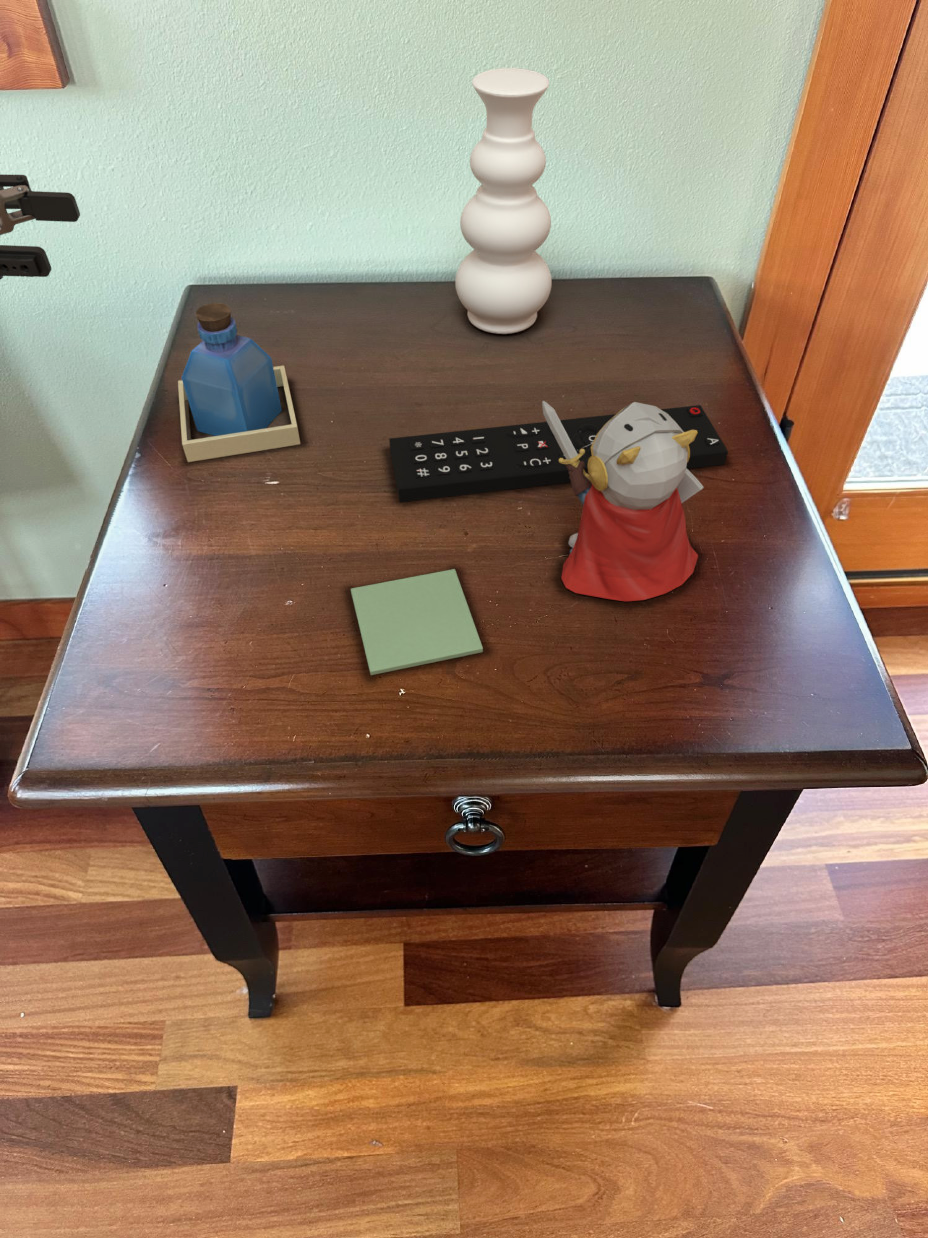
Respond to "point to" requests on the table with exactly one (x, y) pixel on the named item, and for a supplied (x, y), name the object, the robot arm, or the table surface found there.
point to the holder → (241, 440)
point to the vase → (506, 208)
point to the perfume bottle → (229, 377)
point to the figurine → (630, 506)
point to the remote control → (518, 455)
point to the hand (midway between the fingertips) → (62, 233)
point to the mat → (414, 621)
